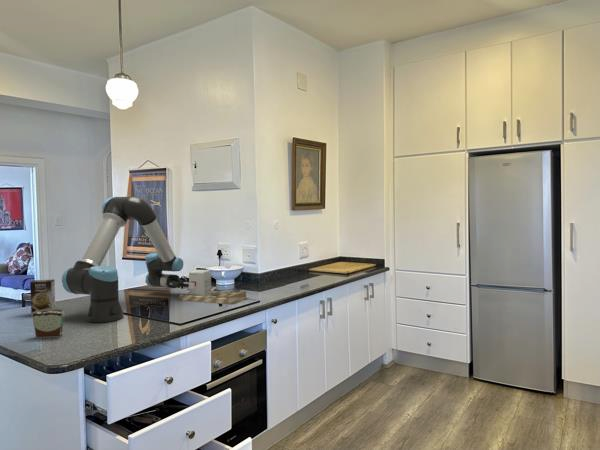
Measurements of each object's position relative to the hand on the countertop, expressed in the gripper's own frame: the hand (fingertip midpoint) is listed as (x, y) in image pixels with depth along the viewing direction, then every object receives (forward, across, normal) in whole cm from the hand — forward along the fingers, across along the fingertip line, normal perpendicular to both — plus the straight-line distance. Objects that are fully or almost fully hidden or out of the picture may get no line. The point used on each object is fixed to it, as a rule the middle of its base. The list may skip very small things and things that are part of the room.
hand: (202, 283), depth 240 cm
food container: (-16, +78, -8) cm, 80 cm away
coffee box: (-52, +55, -9) cm, 76 cm away
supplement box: (-1, 0, -8) cm, 8 cm away
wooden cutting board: (+7, -1, -8) cm, 11 cm away
